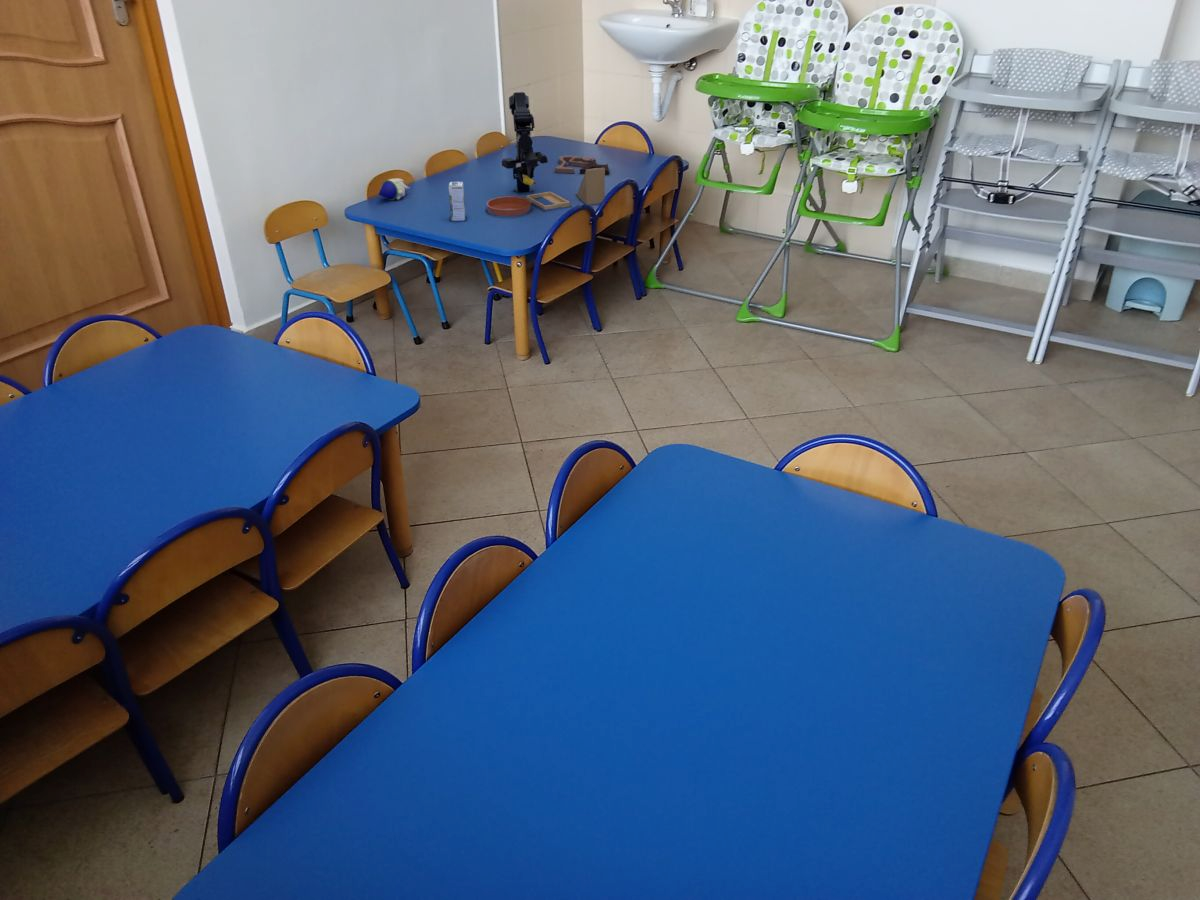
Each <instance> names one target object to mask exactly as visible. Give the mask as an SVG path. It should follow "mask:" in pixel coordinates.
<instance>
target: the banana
mask: <svg viewBox="0 0 1200 900" xmlns="http://www.w3.org/2000/svg"><path fill="white" fill-rule="evenodd" d="M523 183H524V184H528V185H530V187H533V186H534V185H536V183H537V182H536V181H535V180H534V179H533V178H529V177H528V176H526V175H523Z"/></svg>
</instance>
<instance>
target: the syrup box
mask: <svg viewBox="0 0 1200 900" xmlns="http://www.w3.org/2000/svg"><path fill="white" fill-rule="evenodd" d="M448 197H449V209H450V211H449V212H450V221H451V222H458V221H459V222H460V221H461V222H463V221H466V199H465V188H464V181H450V182H449V183H448Z"/></svg>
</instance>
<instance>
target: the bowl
mask: <svg viewBox="0 0 1200 900" xmlns="http://www.w3.org/2000/svg"><path fill="white" fill-rule="evenodd" d="M531 210H532V202H530V200H528V199H526V197H522V196H509V195H508V196H500V197H495V198H491V199H489V200H488V201H487V202H486V211H487V213H489V214H490V215H494V216H499V217H514V216H515V217H516V216H521V215H525V214H527V213H529V212H530V211H531Z"/></svg>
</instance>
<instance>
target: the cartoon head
mask: <svg viewBox="0 0 1200 900" xmlns="http://www.w3.org/2000/svg"><path fill="white" fill-rule="evenodd" d="M404 182H405V180H404V179H402V178H399V177H397V178H395V177H394V178H389V179H387V180H384V181H383V182H382V184H381V187H380V189H379V192H378V196H381V197H383V198H385V199H387V200H388V201H394V200H398V201H399V200H401V198H403V197H405V196H406V192H407V191H408V190H410V189H411V187H410V186H409V185H406V184H405V183H404Z"/></svg>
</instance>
